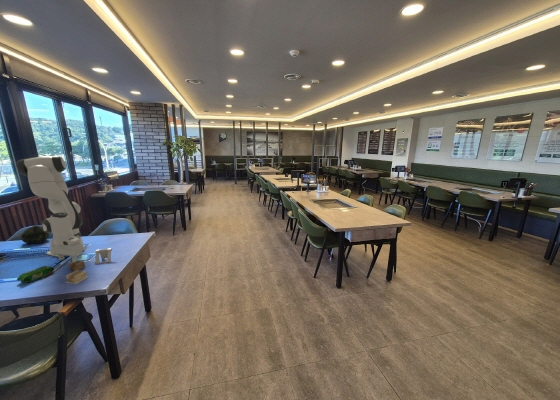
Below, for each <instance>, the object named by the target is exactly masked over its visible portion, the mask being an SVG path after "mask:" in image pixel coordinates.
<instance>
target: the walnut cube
mask: <svg viewBox="0 0 560 400" xmlns="http://www.w3.org/2000/svg"><path fill="white" fill-rule="evenodd" d="M68 266H69V271H73V272H74V271H76V270H79V271H81V270H83V269H84V268H86V265H85V261H84V260H77V259H76V262H70V263H69V264H68Z"/></svg>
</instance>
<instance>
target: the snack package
mask: <svg viewBox="0 0 560 400" xmlns="http://www.w3.org/2000/svg"><path fill="white" fill-rule="evenodd" d="M54 271H55V268H54V266H51V265H49V266H48V265H43V266H40V267H38V268H35V269H32V270H29V271H28V270H27V271H25V272H24V273H22V274H20V275H18V277H17V279H16V281H19V282H20V283H24V282H25V283H31V282H34V281H37V280H39V279H42V277H43V278H45V277H47V276H49V275H51V274H53V272H54Z"/></svg>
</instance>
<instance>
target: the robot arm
mask: <svg viewBox="0 0 560 400" xmlns="http://www.w3.org/2000/svg"><path fill="white" fill-rule="evenodd" d="M66 168H67V163H66V161H65V160H64V158H62V156H60V155H52V156H51V155H50V156H47V155H46V156H38V157H36V156H35V157H29V158H22V159H19V160H17V162H16V170H17V171H18V172H19V174H20V175H23V176H24V177H27V180H28V184H29V188H30V190H31V192H32V193H33V194H34V195H35V196H37V197H38V198H43V199H47V201H48V209H49V210H50V211H51V213H53V214H51V215H50V217H48V218H45V219H43V220H42V222H41V227H42V229H43V231H44V232H47V233H49V234H53V236H52V238H51V240H50V243H49V244H50V247H49V249H50V250H49V251H47V252H45V253H46V255H49V256H53V257H57V258H58V260H59V261H64V260H65V256H69V257H70V258H71V259H70V263H72V262H76V261H77V258H78V257H79V256H81V255H82V253H83V251H85V250H86V245H85V244H84V241H83V238H82V235H81V232H80V228H81V226H82V225H83V224H84V221H83V218H82V216H81V215H80V212H81V211H82V208H81V206H80V205H79V204H78V202H75V201H72V199H71V198H70V196H69V189H68V186H67V183H66V181H65V179H64V176H63V174H62V173H63V172H64V171H65V170H66Z"/></svg>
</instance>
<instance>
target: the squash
mask: <svg viewBox="0 0 560 400" xmlns="http://www.w3.org/2000/svg"><path fill="white" fill-rule="evenodd" d="M49 236H50V233H47V232H44V231H43V229H42V225H41V226H40V225H33V226H30V227H28V228H26V229H25V230H24V231H23V232H22V233H21V236H20V239H21V241H22V242H23V243H25V244H34V243H36V244H40V243H43V242H45V241H46V240H47V239H48V238H49Z"/></svg>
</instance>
